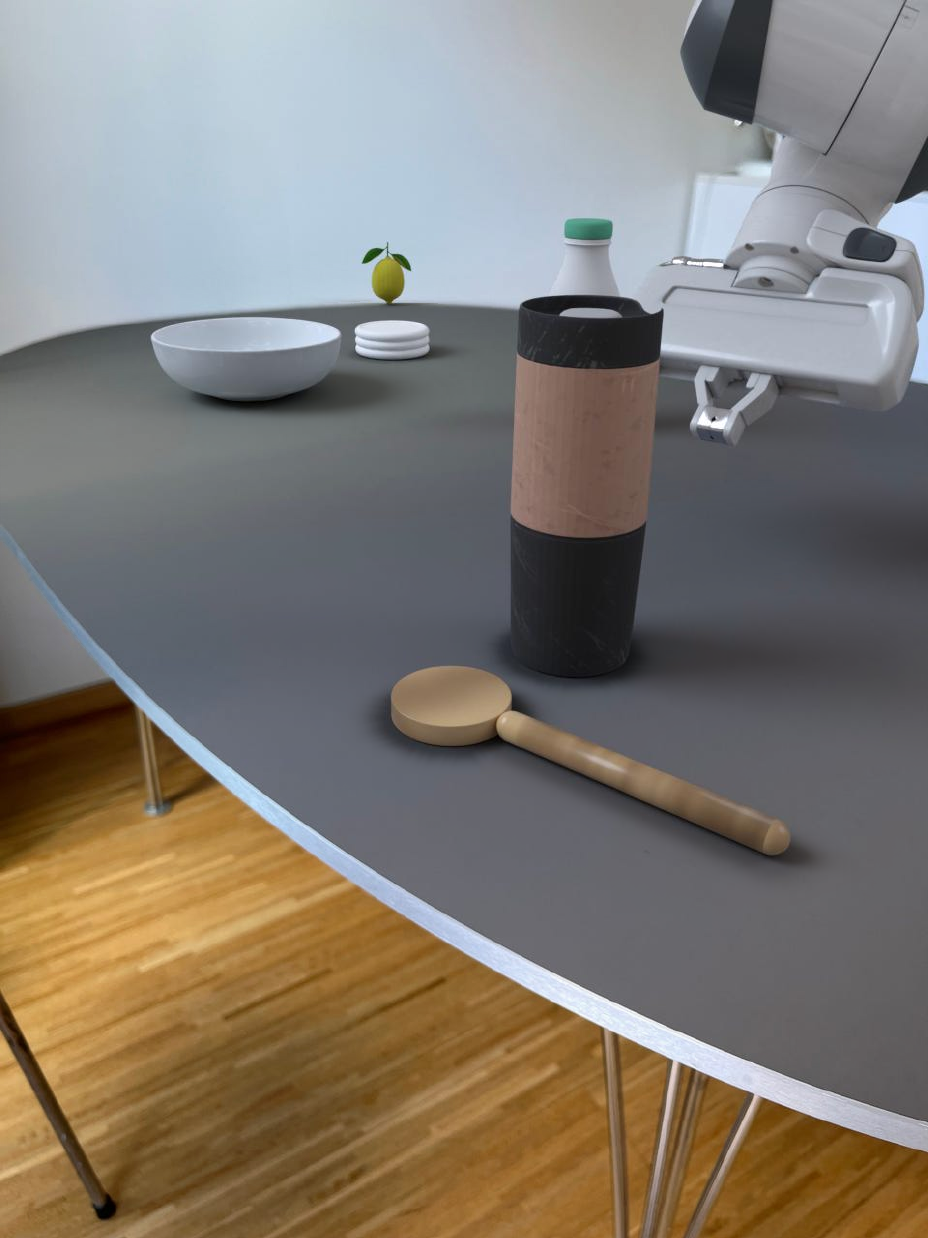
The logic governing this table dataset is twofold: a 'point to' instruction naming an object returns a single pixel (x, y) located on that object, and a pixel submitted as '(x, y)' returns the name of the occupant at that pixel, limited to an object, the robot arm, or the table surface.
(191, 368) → the serving bowl
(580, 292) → the milk bottle
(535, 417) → the travel mug
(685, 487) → the table surface
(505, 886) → the table surface
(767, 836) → the wooden spoon
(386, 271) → the lemon
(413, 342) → the coaster
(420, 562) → the table surface
